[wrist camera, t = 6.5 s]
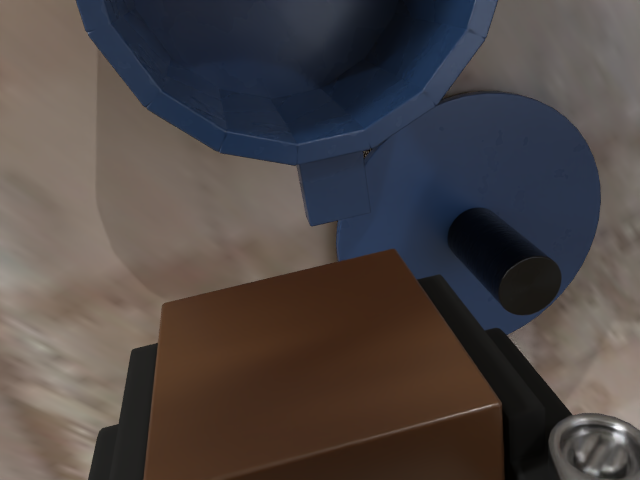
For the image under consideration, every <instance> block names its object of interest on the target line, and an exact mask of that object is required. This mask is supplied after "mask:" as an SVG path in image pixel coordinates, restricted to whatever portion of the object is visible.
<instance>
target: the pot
mask: <svg viewBox="0 0 640 480" xmlns="http://www.w3.org/2000/svg"><path fill="white" fill-rule="evenodd" d="M497 2H498V0H76V3H77V6H78V9H79V12H80V15H81V18H82V21H83V25H84V28H85V31H86V32H88V36H89V37H90V38H91V40H92V41H93V42H94V44H95V45H96V46H97V47H98V49H99V50H100V51H101V52H102V54H103V55H104V56H105V58H106V59H107V60H108V61H109V63H110V64H111V65H112V67H113V68H114V69H115V70H116V72H117V73H118V74H119V75H120V77H121V78H122V79H123V81H124V82H125V83H126V84H127V86H128V87H129V88H130V90H131V91H132V92H133V93H134V95H135V96H136V97H137V98H138V100H139V101H140V102H141V104H142V105H143V106H144V107H146V108H147V109H148V110H149V111H151V112H152V113H154V114H156V115H157V116H159V117H160V118H162V119H164V120H165V121H167V122H169V123H170V124H172V125H174V126H175V127H177V128H179V129H180V130H182V131H184V132H185V133H187V134H189V135H190V136H192V137H194V138H195V139H197V140H198V141H200V142H202V143H203V144H205V145H207V146H208V147H210V148H212V149H213V150H215V151H218V152H220V153H222V154H228V155H234V156H240V157H246V158H252V159H258V160H264V161H270V162H276V163H282V164H288V165H294V166H295V165H297V171H298V176H299V181H300V186H301V192H302V197H303V202H304V207H305V213H306V217H307V219H308V222H309V224H310V226H316V225H320V224H325V223H329V222H333V221H338V220H342V219H346V218H351V217H355V216H359V215H364V214H368V213H371V207H370V200H369V193H368V185H367V178H366V171H365V163H364V156H363V151H366V150H369V149H370V148H371V149H372V148H374V147H376V146H377V145H379V144H380V143H382V142H383V141H385V140H386V139H388V138H389V137H391V136H392V135H394V134H395V133H397V132H398V131H400V130H401V129H403V128H404V127H406V126H407V125H409V124H410V123H412V122H413V121H415V120H416V119H418V118H419V117H421V116H422V115H424V114H425V113H427V112H428V111H430V110H431V109H433V108H434V107H435V105H438V103H439V102H440V101H441V99H442V98H443V97H444V95H445V94H446V92H447V91H448V90H449V88H450V87H451V86H452V84H453V83H454V82H455V80H456V79H457V77H458V76H459V75H460V73H461V72H462V71H463V69H464V68H465V67H466V65H467V64H468V63H469V61H470V60H471V58H472V57H473V56H474V54H475V53H476V52H477V50H478V49H479V48H480V46H481V45H482V43H483V42H484V41H485V38H486V37H487V34H488V31H489V28H490V25H491V21H492V18H493V15H494V12H495V9H496V6H497Z"/></svg>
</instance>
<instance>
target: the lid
mask: <svg viewBox="0 0 640 480" xmlns="http://www.w3.org/2000/svg"><path fill="white" fill-rule="evenodd" d="M364 163H365V171H366V178H367V185H368V193H369V200H370V207H371V213H368V214H364V215H359V216H355V217H351V218H346V219H342V220H338V224H337V236H336V249H337V259H338V262H339V261H343V260H347V259H351V258H355V257H360V256H364V255H368V254H372V253H376V252H380V251H385V250H389V249H396V250H397V252H398V253H399V255H400V256H401V258H402V259H403V260H404V262H405V263H406V265H407V266H408V268H409V269H410V271H411V272H412V273H413V275H414V276H415V278H416V279H422V278H426V277H430V276H434V275H438V274H440V275H442V276H443V278H444V279H445V280H446V281H447V283H448V284H449V285H450V287H451V288H452V289H453V290H454V292H455V293H456V294H457V296H458V297H459V298H460V299H461V301H462V302H463V303H464V305H465V306H466V307H467V308H468V310H469V311H470V312H471V314H472V315H473V316H474V317H475V319H476V320H477V321H478V323H479V324H480V325H481V326H482V328H483V329H484V330H488V329H492V328H499V329H501V330H502V331H503V332H504V333H505V334H506V335H508V334H510V333H512V332H514V331H515V330H517V329H519V328H521V327H522V326H524V325H526V324H527V323H529V322H530V321H531V320H533V319H534V318H536V317H537V316H538V315H540V314H541V313H542V312H543V311H544V310H546V309H547V308H548V307H549V306H550V305H551V304H552V303H553V302H554V301H555V300H556V299H557V298H558V297H559V296H560V295H561V294H562V293H563V292H564V290H565V289H566V288H567V286H568V285H569V284H570V283H571V281H572V280H573V279H574V277H575V275H576V274H577V272H578V271H579V269H580V268H581V266H582V264H583V262H584V260H585V258H586V256H587V254H588V252H589V250H590V247H591V244H592V242H593V239H594V236H595V233H596V229H597V224H598V220H599V213H600V204H601V195H600V181H599V175H598V170H597V167H596V163H595V160H594V157H593V155H592V153H591V151H590V148H589V146H588V144H587V142H586V141H585V139H584V138H583V136H582V135H581V134H580V132H579V131H578V129H577V128H576V127H575V126H574V125H573V124H572V123H571V122H570V121H569V120H568V119H567V118H566V117H565V116H563V115H562V114H560V113H559V112H558V111H556V110H555V109H553V108H552V107H550V106H548V105H546V104H544V103H542V102H540V101H538V100H535V99H532V98H529V97H526V96H522V95H519V94H515V93H509V92H502V91H478V92H471V93H464V94H459V95H456V96H452V97H449V98H445V99H442V100H441V101H440V102H439V103H438V105H435V107H434V108H433V109H431V110H430V111H428V112H427V113H425V114H424V115H422V116H421V117H419V118H418V119H416V120H415V121H413V122H412V123H410V124H409V125H407V126H406V127H404V128H403V129H401V130H400V131H398V132H397V133H395V134H394V135H392V136H391V137H389V138H388V139H386V140H385V141H383V142H382V143H380V144H379V145H377V146H376V147H374V148H373V149H372V150H371V151H370V152H369V154H368V155H367V156H366V157H365V158H364Z"/></svg>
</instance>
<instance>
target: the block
mask: <svg viewBox="0 0 640 480" xmlns="http://www.w3.org/2000/svg"><path fill="white" fill-rule="evenodd" d="M143 480H505V476H504V447H503V419H502V402H501V401H500V399H499V398H498V396H497V395H496V394H495V392H494V391H493V389H492V388H491V386H490V385H489V383H488V382H487V381H486V379H485V378H484V376H483V375H482V373H481V372H480V370H479V369H478V368H477V366H476V365H475V363H474V362H473V360H472V359H471V357H470V356H469V355H468V353H467V352H466V350H465V349H464V347H463V346H462V344H461V343H460V341H459V340H458V339H457V337H456V336H455V334H454V333H453V331H452V330H451V328H450V327H449V326H448V324H447V323H446V321H445V320H444V318H443V317H442V315H441V314H440V313H439V311H438V310H437V308H436V307H435V305H434V304H433V302H432V301H431V300H430V298H429V297H428V295H427V294H426V292H425V291H424V289H423V288H422V287H421V285H420V284H419V282H418V281H417V279H416V278H415V276H414V275H413V273H412V272H411V271H410V269H409V268H408V266H407V265H406V263H405V262H404V260H403V259H402V258H401V256H400V255H399V253H398V252H397V250H396V249H389V250H385V251H380V252H376V253H372V254H368V255H364V256H360V257H355V258H351V259H347V260H343V261H339V262H334V263H330V264H326V265H322V266H318V267H313V268H309V269H305V270H301V271H297V272H293V273H288V274H284V275H280V276H276V277H272V278H267V279H263V280H259V281H255V282H251V283H246V284H242V285H238V286H234V287H230V288H225V289H221V290H217V291H213V292H209V293H205V294H200V295H196V296H192V297H188V298H184V299H179V300H175V301H171V302H167V303H164V304H163V305H162V310H161V320H160V329H159V338H158V348H157V357H156V366H155V376H154V385H153V394H152V404H151V413H150V422H149V432H148V441H147V450H146V460H145V469H144V478H143Z"/></svg>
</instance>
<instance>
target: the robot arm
mask: <svg viewBox="0 0 640 480" xmlns="http://www.w3.org/2000/svg"><path fill="white" fill-rule="evenodd" d="M417 281H418V282H419V284H420V285H421V287H422V288H423V289H424V291H425V292H426V294H427V295H428V297H429V298H430V300H431V301H432V302H433V304H434V305H435V307H436V308H437V310H438V311H439V313H440V314H441V315H442V317H443V318H444V320H445V321H446V323H447V324H448V326H449V327H450V328H451V330H452V331H453V333H454V334H455V336H456V337H457V339H458V340H459V341H460V343H461V344H462V346H463V347H464V349H465V350H466V352H467V353H468V355H469V356H470V357H471V359H472V360H473V362H474V363H475V365H476V366H477V368H478V369H479V370H480V372H481V373H482V375H483V376H484V378H485V379H486V381H487V382H488V383H489V385H490V386H491V388H492V389H493V391H494V392H495V394H496V395H497V396H498V398H499V399H500V401H501V402H502V419H503V447H504V476H505V480H640V430H638V429H637V428H635V427H634V426H633V425H631V424H630V423H628V422H625V421H623V420H621V419H618V418H616V417H613V416H608V415H604V414H599V413H582V414H577V415H572V414H571V413H570V411H569V410H568V409H567V408H566V406H565V405H564V404H563V403H562V402H561V400H560V399H559V398H558V397H557V396H556V394H555V393H554V392H553V391H552V390H551V388H550V387H549V386H548V385H547V383H546V382H545V381H544V380H543V379H542V377H541V376H540V375H539V374H538V373H537V371H536V370H535V369H534V368H533V367H532V365H531V364H530V363H529V362H528V361H527V359H526V358H525V357H524V356H523V354H522V353H521V352H520V351H519V350H518V348H517V347H516V346H515V345H514V344H513V342H512V341H511V340H510V339H509V338H508V336H507V335H506V334H505V333H504V332H503V331H502V330H501V329H499V328H492V329H488V330H484V329H483V328H482V326H481V325H480V324H479V323H478V321H477V320H476V319H475V317H474V316H473V315H472V314H471V312H470V311H469V310H468V308H467V307H466V306H465V305H464V303H463V302H462V301H461V299H460V298H459V297H458V296H457V294H456V293H455V292H454V290H453V289H452V288H451V287H450V285H449V284H448V283H447V281H446V280H445V279H444V278H443V276H442V275H440V274H438V275H434V276H430V277H426V278H422V279H417ZM157 348H158V343H156V344H152V345H148V346H144V347H140V348H136V349H133V350H132V352H131V356H130V362H129V367H128V373H127V379H126V385H125V390H124V396H123V402H122V408H121V413H120V419H119V424H117V425H113V426H109V427H105V428H102V429H101V430H100V431H99V434H98V437H97V441H96V446H95V450H94V455H93V460H92V464H91V469H90V474H89V478H88V480H143V478H144V469H145V460H146V450H147V441H148V432H149V422H150V413H151V404H152V394H153V385H154V376H155V366H156V357H157Z"/></svg>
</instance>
